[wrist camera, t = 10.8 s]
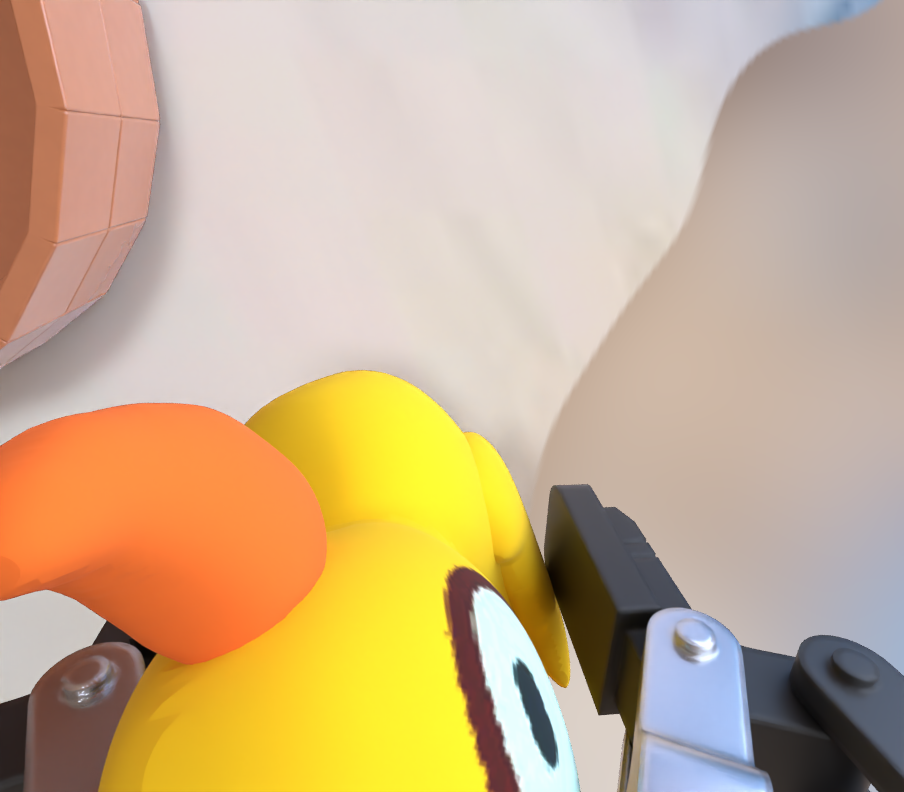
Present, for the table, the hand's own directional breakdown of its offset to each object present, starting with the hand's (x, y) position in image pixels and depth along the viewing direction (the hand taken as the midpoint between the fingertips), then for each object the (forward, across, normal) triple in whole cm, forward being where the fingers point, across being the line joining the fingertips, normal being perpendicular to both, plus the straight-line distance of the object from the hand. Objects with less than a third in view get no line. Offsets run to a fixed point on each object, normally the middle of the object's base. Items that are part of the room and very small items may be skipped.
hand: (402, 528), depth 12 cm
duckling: (+2, 0, 0) cm, 2 cm away
